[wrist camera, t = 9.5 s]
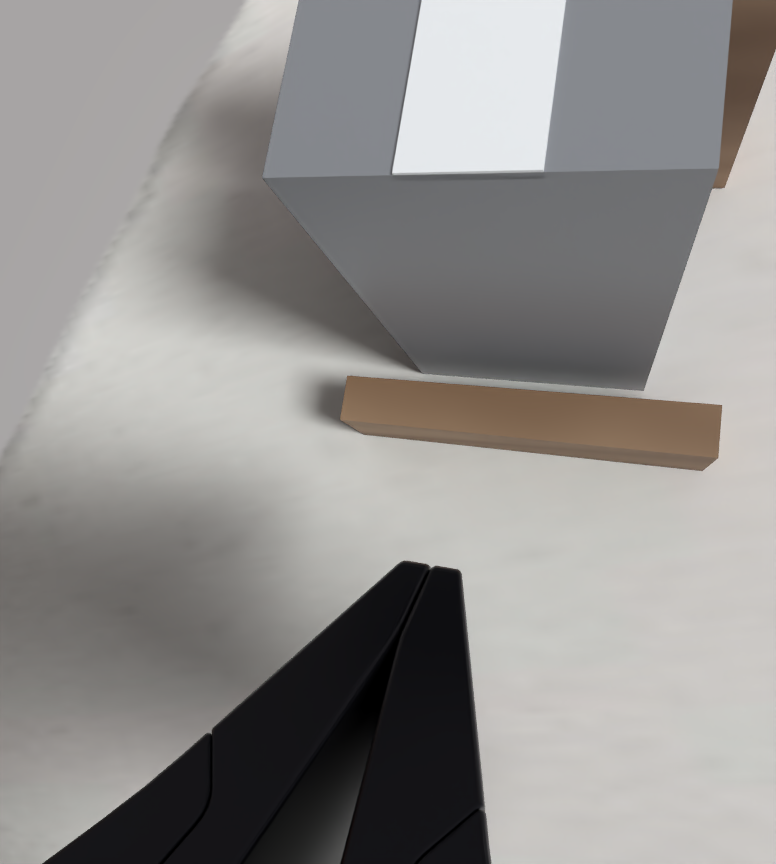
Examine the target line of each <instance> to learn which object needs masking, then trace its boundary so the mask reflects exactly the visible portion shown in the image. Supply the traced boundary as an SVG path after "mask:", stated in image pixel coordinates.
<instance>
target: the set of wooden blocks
mask: <svg viewBox="0 0 776 864" xmlns="http://www.w3.org/2000/svg"><path fill="white" fill-rule="evenodd" d="M775 50H776V0H733V4H732V16H731V28H730V40H729V52H728V64H727V76H726V88H725V100H724V112H723V124H722V136H721V148H720V160H719V169H718V172H717V175H716V178H715V181H714V184H713V187H712V188H725V185H726V182H727V180H728V177H729V174H730V171H731V169H732V166H733V163H734V161H735V158H736V155H737V153H738V150H739V147H740V144H741V142H742V139H743V136H744V134H745V131H746V128H747V126H748V123H749V120H750V117H751V115H752V112H753V109H754V107H755V104H756V101H757V98H758V96H759V93H760V90H761V88H762V85H763V82H764V80H765V77H766V74H767V71H768V69H769V66H770V63H771V61H772V58H773V55H774V53H775ZM721 413H722V405H714V404H701V403H689V402H676V401H663V400H650V399H637V398H625V397H612V396H599V395H586V394H574V393H561V392H548V391H535V390H523V389H510V388H497V387H484V386H472V385H459V384H446V383H433V382H420V381H408V380H395V379H382V378H369V377H357V376H347V381H346V387H345V392H344V398H343V404H342V410H341V416H340V420H341V421H343V422H344V423H346V424H348V425H349V426H351V427H353V428H354V429H356V430H357V431H359V432H361V433H362V434H364V435H373V436H382V437H392V438H401V439H410V440H420V441H429V442H438V443H447V444H457V445H466V446H475V447H485V448H494V449H503V450H513V451H522V452H531V453H540V454H550V455H559V456H568V457H578V458H587V459H596V460H606V461H615V462H624V463H633V464H643V465H652V466H661V467H671V468H680V469H689V470H699V471H703V470H704V469H705V468H707V467H708V466H709V465H710V464H711V463H713V462H714V461H715V460H716V459H718V453H719V440H720V426H721Z"/></svg>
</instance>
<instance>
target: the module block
mask: <svg viewBox="0 0 776 864" xmlns="http://www.w3.org/2000/svg"><path fill="white" fill-rule="evenodd" d="M732 4H733V0H299V2H298V7H297V12H296V16H295V21H294V26H293V31H292V36H291V41H290V45H289V50H288V55H287V60H286V65H285V70H284V75H283V79H282V84H281V89H280V94H279V99H278V104H277V108H276V113H275V118H274V123H273V128H272V133H271V138H270V142H269V147H268V152H267V157H266V162H265V167H264V171H263V176H262V178H263V180H264V181H265V182H266V183H267V184H268V186H269V187H270V188H271V189H272V191H273V192H274V193H275V194H276V195H277V197H278V198H279V199H280V200H281V202H282V203H283V204H284V205H285V206H286V208H287V209H288V210H289V211H290V212H291V214H292V215H293V216H294V217H295V219H296V220H297V221H298V222H299V223H300V225H301V226H302V227H303V228H304V230H305V231H306V232H307V233H308V234H309V236H310V237H311V238H312V239H313V241H314V242H315V243H316V244H317V245H318V247H319V248H320V249H321V250H322V252H323V253H324V254H325V255H326V256H327V258H328V259H329V260H330V261H331V262H332V264H333V265H334V266H335V267H336V269H337V270H338V271H339V272H340V273H341V275H342V276H343V277H344V278H345V280H346V281H347V282H348V283H349V284H350V286H351V287H352V288H353V289H354V291H355V292H356V293H357V294H358V295H359V297H360V298H361V299H362V300H363V302H364V303H365V304H366V305H367V306H368V308H369V309H370V310H371V311H372V312H373V314H374V315H375V316H376V317H377V319H378V320H379V321H380V322H381V323H382V325H383V326H384V327H385V328H386V330H387V331H388V332H389V333H390V334H391V336H392V337H393V338H394V339H395V341H396V342H397V343H398V344H399V345H400V347H401V348H402V349H403V350H404V351H405V353H406V354H407V355H408V356H409V358H410V359H411V360H412V361H413V362H414V364H415V365H416V366H417V367H418V369H419V370H420V371H421V372H422V373H423V374H433V375H446V376H459V377H472V378H485V379H498V380H511V381H524V382H537V383H549V384H562V385H575V386H588V387H601V388H614V389H627V390H640V391H644V388H645V385H646V382H647V379H648V376H649V373H650V370H651V367H652V364H653V361H654V358H655V355H656V353H657V350H658V347H659V344H660V341H661V338H662V335H663V332H664V329H665V326H666V323H667V320H668V317H669V314H670V311H671V308H672V305H673V302H674V299H675V296H676V293H677V291H678V288H679V285H680V282H681V279H682V276H683V273H684V270H685V267H686V264H687V261H688V258H689V255H690V252H691V249H692V246H693V243H694V240H695V237H696V234H697V231H698V229H699V226H700V223H701V220H702V217H703V214H704V211H705V208H706V205H707V202H708V199H709V196H710V193H711V190H712V187H713V184H714V181H715V178H716V175H717V172H718V169H719V160H720V148H721V136H722V124H723V112H724V100H725V88H726V76H727V64H728V52H729V40H730V28H731V16H732Z"/></svg>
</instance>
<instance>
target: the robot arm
mask: <svg viewBox="0 0 776 864" xmlns="http://www.w3.org/2000/svg"><path fill="white" fill-rule="evenodd" d="M42 864H491V856H490V849H489V839H488V829H487V819H486V813H485V802H484V792H483V782H482V772H481V762H480V752H479V742H478V732H477V722H476V712H475V702H474V692H473V682H472V672H471V662H470V652H469V642H468V632H467V622H466V612H465V602H464V592H463V582H462V574H461V572H460V571H459V570H458V569H453V568H447V567H441V566H434V567H432V568H431V567H430V566H429V565H427V564H423V563H417V562H411V561H402V562H400V563H399V564H397V565H396V566H395V567H394V568H393V569H392V570H391V571H390V572H388V573H387V574H386V575H385V576H384V577H383V578H382V579H381V580H379V581H378V582H377V583H376V584H375V585H374V586H373V587H371V588H370V589H369V590H368V591H367V592H366V593H365V594H364V595H362V596H361V597H360V598H359V599H358V600H357V601H356V602H355V603H353V604H352V605H351V606H350V607H349V608H348V609H347V610H346V611H344V612H343V613H342V614H341V615H340V616H339V617H338V618H337V619H335V620H334V621H333V622H332V623H331V624H330V625H329V626H327V627H326V628H325V629H324V630H323V631H322V632H321V633H320V634H318V635H317V636H316V637H315V638H314V639H313V640H312V641H311V642H309V643H308V644H307V645H306V646H305V647H304V648H303V649H302V650H300V651H299V652H298V653H297V654H296V655H295V656H294V657H292V658H291V659H290V660H289V661H288V662H287V663H286V664H285V665H283V666H282V667H281V668H280V669H279V670H278V671H277V672H276V673H274V674H273V675H272V676H271V677H270V678H269V679H268V680H267V681H265V682H264V683H263V684H262V685H261V686H260V687H259V688H257V689H256V690H255V691H254V692H253V693H252V694H251V695H250V696H248V697H247V698H246V699H245V700H244V701H243V702H242V703H241V704H239V705H238V706H237V707H236V708H235V709H234V710H233V711H232V712H230V713H229V714H228V715H227V716H226V717H225V718H224V719H223V720H221V721H220V722H219V723H218V724H217V725H216V726H215V727H213V729H212V735H211V734H210V733H206V734H205V735H204V736H203V737H202V738H201V739H200V740H198V741H197V742H196V743H195V744H194V745H193V746H192V747H191V748H189V749H188V750H187V751H186V752H185V753H184V754H183V755H181V756H180V757H179V758H178V759H177V760H176V761H174V762H173V763H172V764H171V765H170V766H168V767H167V768H166V769H165V770H164V771H163V772H161V773H160V774H159V775H158V776H157V777H155V778H154V779H153V780H152V781H151V782H149V783H148V784H147V785H146V786H145V787H143V788H142V789H141V790H140V791H138V792H137V793H136V794H134V795H133V796H132V797H130V798H129V799H128V800H127V801H125V802H124V803H123V804H121V805H120V806H119V807H117V808H116V809H115V810H114V811H112V812H111V813H110V814H108V815H107V816H106V817H105V818H103V819H102V820H101V821H99V822H98V823H97V824H95V825H94V826H92V827H91V828H90V829H88V830H87V831H86V832H84V833H83V834H82V835H80V836H79V837H78V838H76V839H75V840H74V841H72V842H71V843H69V844H68V845H67V846H65V847H64V848H63V849H61V850H60V851H59V852H57V853H56V854H55V855H53V856H52V857H51V858H49V859H48V860H46V861H45V862H44V863H42Z"/></svg>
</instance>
